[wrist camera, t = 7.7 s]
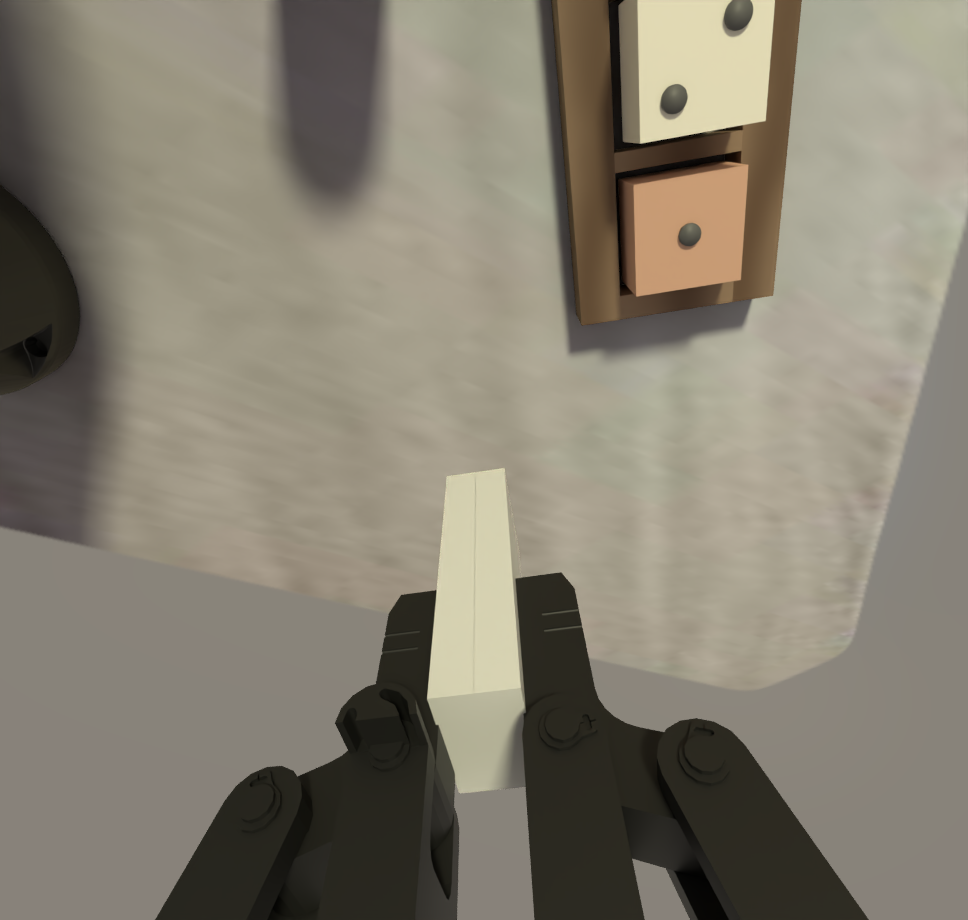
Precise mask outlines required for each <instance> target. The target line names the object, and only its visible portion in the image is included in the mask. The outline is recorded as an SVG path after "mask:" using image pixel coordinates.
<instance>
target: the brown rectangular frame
mask: <svg viewBox="0 0 968 920" xmlns="http://www.w3.org/2000/svg"><path fill="white" fill-rule="evenodd" d="M612 1H617V0H551V3H552V16H553V28H554V41H555V53H556V66H557V78H558V91H559V103H560V116H561V128H562V141H563V154H564V166H565V179H566V191H567V204H568V216H569V229H570V241H571V254H572V266H573V279H574V291H575V304H576V315H577V317H578V319H579V321H580V323H581V325H582V326H583V325H589V324H595V323H602V322H608V321H614V320H621V319H627V318H633V317H640V316H646V315H652V314H659V313H665V312H672V311H678V310H684V309H691V308H697V307H703V306H710V305H716V304H722V303H729V302H735V301H741V300H748V299H754V298H761V297H767V296H773V291H774V281H775V270H776V260H777V250H778V239H779V229H780V219H781V208H782V198H783V188H784V177H785V167H786V157H787V146H788V136H789V126H790V115H791V105H792V95H793V84H794V74H795V64H796V53H797V43H798V33H799V22H800V12H801V2H802V0H775V7H774V20H773V33H772V45H771V58H770V71H769V84H768V97H767V110H766V121H762V122H757V123H751V124H746V125H740V126H735V127H729V128H726V130H722V131H717V132H711V133H706V134H700V135H695V136H689V137H684V138H678V139H673V140H667V141H662V142H656V143H651V144H645V145H640V146H634V147H629V148H623V149H617V150H614V135H613V110H612V84H611V59H610V34H609V9H608V2H612ZM720 154H725V161H726V162H733V163H740V164H746V165H748V180H747V194H746V209H745V224H744V239H743V254H742V269H741V280H737V281H731V282H725V283H718V284H712V285H706V286H700V287H693V288H687V289H681V290H675V291H668V292H662V293H656V294H650V295H643V296H637V297H636V296H635V295H634V293H633V292H632V291H631V290H630V289H629V288H628V287H627V286H626V285H625V284H624V285H619V261H618V236H617V210H616V185H615V173H619V172H625V171H630V170H636V169H642V168H647V167H653V166H658V165H664V164H670V163H675V162H681V161H687V160H692V159H698V158H703V157H709V156H715V155H720Z"/></svg>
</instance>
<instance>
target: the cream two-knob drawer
mask: <svg viewBox="0 0 968 920" xmlns="http://www.w3.org/2000/svg"><path fill="white" fill-rule="evenodd" d="M774 7H775V0H624V1H623V2H622V3H621V4H620V5H619V36H620V66H621V97H622V128H623V142H630V143H639V144H641V143H647V142H652V141H658V140H663V139H669V138H674V137H680V136H685V135H691V134H696V133H702V132H707V131H713V130H718V129H724V128H729V127H735V126H740V125H746V124H751V123H757V122H762V121H766V110H767V97H768V84H769V71H770V58H771V45H772V33H773V20H774Z"/></svg>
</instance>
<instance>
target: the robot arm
mask: <svg viewBox="0 0 968 920" xmlns="http://www.w3.org/2000/svg"><path fill="white" fill-rule="evenodd" d="M78 329H79V303H78V298H77V293H76V289H75V285H74V282H73V279H72V276H71V274H70V271H69V269H68V267H67V265H66V263H65V261H64V259H63V257H62V255H61V253H60V251H59V250H58V248H57V246H56V245H55V243H54V242H53V240H52V239H51V237H50V236H49V235H48V233H47V232H46V230H45V229H44V228H43V227H42V225H41V224H40V223H39V222H38V221H37V219H36V218H35V217H34V216H33V215H32V214H31V213H30V212H29V211H28V210H27V209H26V208H25V207H24V206H23V205H22V204H21V203H20V202H19V201H18V200H17V199H16V198H15V197H13V196H12V195H11V194H10V193H9V192H7V191H6V190H5V189H4V188H2V187H1V186H0V395H3V394H7V393H11V392H14V391H17V390H20V389H23V388H25V387H27V386H29V385H31V384H33V383H35V382H36V381H38V380H40V379H42V378H43V377H45V376H47V375H49V374H50V373H52V372H53V371H55V370H56V369H57V368H58V367H59V366H60V365H61V364H62V363H63V362H64V361H65V360H66V359H67V357H68V356H69V354H70V353H71V351H72V349H73V347H74V344H75V342H76V338H77V335H78ZM385 636H386V637H385V638H384V643H383V648H382V652H383V654H382V655H381V659H380V665H379V670H378V676H377V681H376V684H375V685H371V686H368V687H366V688H364V689H363V690H361V691H359V692H358V693H356V694H355V695H353V696H352V697H351V698H350V699H349V700H348V702H347V703H346V704H345V705H344V706H343V707H342V708H341V710H340V713H339V715H338V717H337V720H336V722H335V724H336V726H337V728H338V730H339V732H340V734H341V736H342V738H343V741H344V743H345V745H346V746H347V749H348V751H347V752H346V753H345V754H343V755H342V756H341V757H339V758H337V759H335V760H333V761H332V762H330V763H328V764H325V765H323V766H321V767H318V768H316V769H314V770H312V771H309V772H307V773H305V774H302V775H300V776H298V777H297V776H296V774H295V773H294V771H292V770H290V769H288V768H285V767H283V766H276V767H266V768H264V769H262V770H259V771H257V772H255V773H252V774H251V775H249V776H248V777H247V778H246V779H244V780H243V781H242V782H240V784H238V785H237V786H236V787H235V788H234V790H233V791H232V792H231V794H230V795H229V796H228V797H227V799H226V800H225V801H224V803H223V805H222V807H221V808H220V810H219V812H218V813H217V815H216V817H215V819H214V820H213V822H212V824H211V826H210V827H209V829H208V830H207V832H206V834H205V836H204V837H203V839H202V841H201V842H200V844H199V846H198V848H197V849H196V851H195V853H194V855H193V856H192V858H191V860H190V861H189V863H188V865H187V866H186V868H185V870H184V872H183V873H182V875H181V877H180V879H179V880H178V882H177V883H176V885H175V887H174V889H173V890H172V892H171V894H170V895H169V897H168V899H167V901H166V902H165V904H164V906H163V907H162V909H161V911H160V913H159V914H158V916H157V918H156V919H155V920H457V895H458V855H459V825H458V818H457V814H456V811H455V808H454V790H455V782H456V784H457V788H458V791H459V793H469V792H479V791H489V790H499V789H508V788H518V787H526V799H527V815H528V829H529V844H530V858H531V873H532V888H533V903H534V918H535V920H645V919H644V915H643V910H642V905H641V900H640V895H639V890H638V886H637V881H636V876H635V871H634V866H633V861H632V859H636V860H640V861H643V862H646V863H650V864H653V865H657V866H660V867H664V868H666V870H667V872H668V874H669V876H670V878H671V880H672V882H673V884H674V886H675V889H676V891H677V893H678V895H679V897H680V899H681V901H682V903H683V905H684V907H685V909H686V912H687V914H688V916H689V918H690V920H868V918H867V917H866V915H865V914H864V912H863V911H862V910H861V908H860V907H859V905H858V904H857V903H856V901H855V900H854V898H853V897H852V896H851V894H850V893H849V891H848V890H847V889H846V887H845V886H844V884H843V883H842V881H841V880H840V879H839V877H838V876H837V875H836V873H835V872H834V870H833V869H832V867H831V866H830V865H829V863H828V862H827V860H826V859H825V857H824V856H823V855H822V853H821V852H820V850H819V849H818V848H817V846H816V845H815V844H814V842H813V841H812V839H811V838H810V836H809V835H808V834H807V832H806V831H805V829H804V828H803V827H802V825H801V824H800V822H799V821H798V819H797V818H796V817H795V815H794V814H793V812H792V811H791V810H790V808H789V807H788V805H787V804H786V802H785V801H784V800H783V798H782V797H781V796H780V794H779V793H778V791H777V790H776V788H775V787H774V785H773V784H772V783H771V781H770V780H769V778H768V777H767V776H766V774H765V773H764V771H763V770H762V769H761V767H760V766H759V764H758V763H757V761H756V760H755V759H754V757H753V756H752V754H751V753H750V752H749V750H748V749H747V747H746V746H745V745H744V744H743V743H742V742H741V741H740V740H739V739H738V737H737V736H735V734H733V733H732V732H731V731H730V730H728V729H727V728H725V727H723V726H721V725H719V724H717V723H715V722H712V721H707V720H702V719H697V718H696V719H689V720H682V721H679V722H677V723H675V724H674V725H672V726H671V727H669V728H667V729H666V731H665V732H660V731H655V730H650V729H645V728H640V727H636V726H633V725H630V724H627V723H624V722H623V721H621V720H619V719H618V718H616V717H614V716H613V715H612V714H611V713H610V712H609V711H607V710H606V709H605V708H604V706H603V705H602V703H601V702H600V700H599V699H598V696H597V693H596V690H595V687H594V682H593V677H592V672H591V667H590V662H589V657H588V652H587V648H586V643H585V638H584V633H583V628H582V623H581V618H580V613H579V609H578V604H577V599H576V594H575V589H574V587H573V586H572V585H571V584H570V582H569V581H568V580H567V579H566V578H565V576H564V575H563V574H562V573H553V574H546V575H538V576H531V577H523V578H522V577H521V567H520V556H519V547H518V542H517V536H516V530H515V525H514V519H513V514H512V508H511V502H510V497H509V491H508V485H507V480H506V474H505V468H501V469H495V470H488V471H481V472H474V473H467V474H461V475H454V476H447V482H446V494H445V505H444V516H443V527H442V538H441V549H440V560H439V571H438V582H437V590H435V591H428V592H420V593H413V594H405V595H401V596H400V598H399V599H398V601H397V602H396V604H395V605H394V607H393V608H392V610H391V611H390V613H389V616H388V621H387V627H386V632H385Z"/></svg>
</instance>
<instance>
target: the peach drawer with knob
mask: <svg viewBox="0 0 968 920" xmlns="http://www.w3.org/2000/svg"><path fill="white" fill-rule="evenodd" d="M747 180H748V165H746V164H740V163H733V162H726V161H717V162H711V163H705V164H700V165H694V166H688V167H683V168H677V169H671V170H666V171H660V172H654V173H649V174H643V175H637V176H632V177H626V178H621V179H618V187H619V214H620V241H621V268H622V281H623V282H624V283H625V285H626V286H627V287H628V288H629V289H630V290H631V291H632V292H633V293H634V295H635V296H636V297H637V296H643V295H650V294H656V293H662V292H668V291H675V290H681V289H687V288H693V287H700V286H706V285H712V284H718V283H725V282H731V281H737V280H741V269H742V254H743V239H744V224H745V209H746V194H747Z"/></svg>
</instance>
